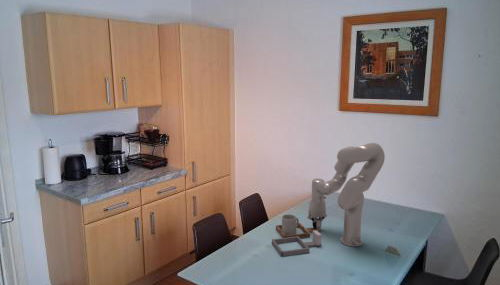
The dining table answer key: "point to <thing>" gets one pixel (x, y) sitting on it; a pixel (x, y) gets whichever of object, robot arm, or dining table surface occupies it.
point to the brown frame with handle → (305, 230)
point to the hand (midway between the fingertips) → (316, 227)
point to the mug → (289, 224)
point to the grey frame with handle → (315, 242)
